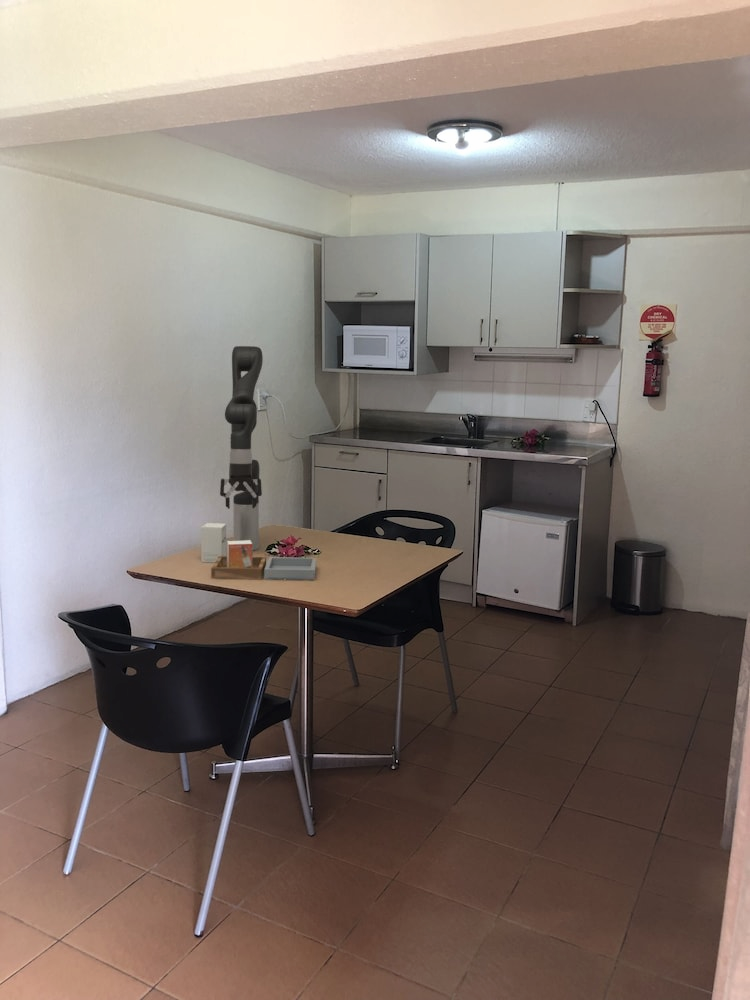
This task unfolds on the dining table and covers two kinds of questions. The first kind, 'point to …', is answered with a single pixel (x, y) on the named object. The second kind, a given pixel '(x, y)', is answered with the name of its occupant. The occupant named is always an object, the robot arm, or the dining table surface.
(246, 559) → the small box
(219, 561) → the frame
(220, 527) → the supplement box
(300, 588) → the dining table surface
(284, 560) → the tray
